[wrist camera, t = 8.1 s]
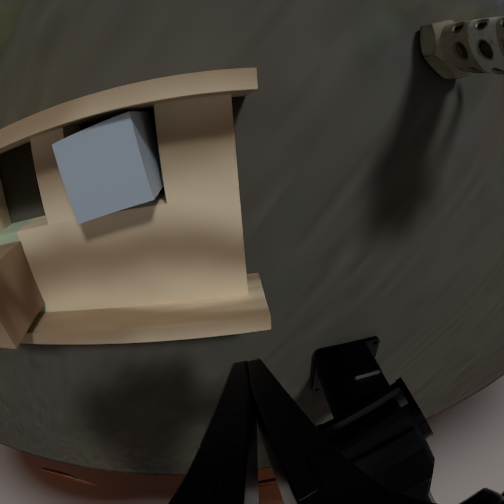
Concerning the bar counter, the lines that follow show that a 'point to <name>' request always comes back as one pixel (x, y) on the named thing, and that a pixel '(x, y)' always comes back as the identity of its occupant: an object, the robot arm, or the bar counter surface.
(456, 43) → the grenade model
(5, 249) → the walnut block
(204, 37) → the bar counter surface
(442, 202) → the bar counter surface
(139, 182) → the trapped block
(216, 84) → the box
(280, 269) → the bar counter surface
